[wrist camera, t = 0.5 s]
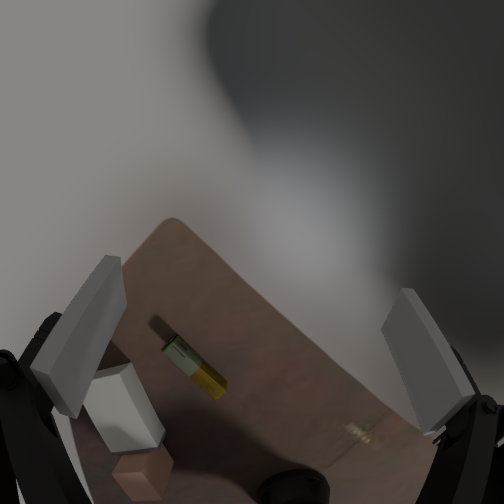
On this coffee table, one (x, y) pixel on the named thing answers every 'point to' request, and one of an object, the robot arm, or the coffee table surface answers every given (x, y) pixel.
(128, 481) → the terracotta stub
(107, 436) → the light grey block
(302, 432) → the coffee table surface
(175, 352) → the medication box
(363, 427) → the coffee table surface
